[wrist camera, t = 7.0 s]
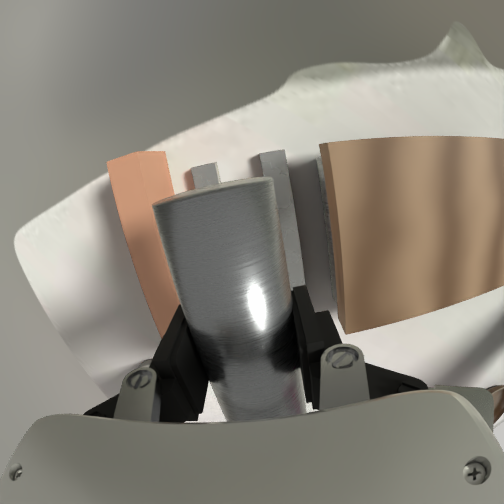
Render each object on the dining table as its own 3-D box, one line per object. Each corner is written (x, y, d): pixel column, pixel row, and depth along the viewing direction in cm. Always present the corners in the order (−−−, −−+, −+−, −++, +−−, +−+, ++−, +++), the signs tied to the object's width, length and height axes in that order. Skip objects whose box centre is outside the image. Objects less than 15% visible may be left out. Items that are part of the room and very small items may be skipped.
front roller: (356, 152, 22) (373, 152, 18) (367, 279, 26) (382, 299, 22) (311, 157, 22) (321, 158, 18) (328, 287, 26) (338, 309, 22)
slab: (503, 139, 17) (520, 140, 14) (500, 271, 21) (514, 280, 19) (319, 144, 18) (327, 142, 16) (338, 317, 23) (345, 334, 20)
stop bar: (164, 151, 22) (137, 151, 17) (212, 331, 28) (203, 370, 22) (139, 159, 22) (106, 162, 17) (189, 333, 28) (176, 371, 23)
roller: (303, 393, 15) (311, 449, 11) (235, 401, 15) (229, 456, 11) (270, 173, 11) (275, 183, 7) (172, 194, 11) (131, 214, 7)
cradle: (283, 149, 22) (284, 149, 21) (306, 299, 27) (307, 305, 26) (193, 167, 23) (190, 168, 22) (228, 312, 27) (227, 318, 26)
